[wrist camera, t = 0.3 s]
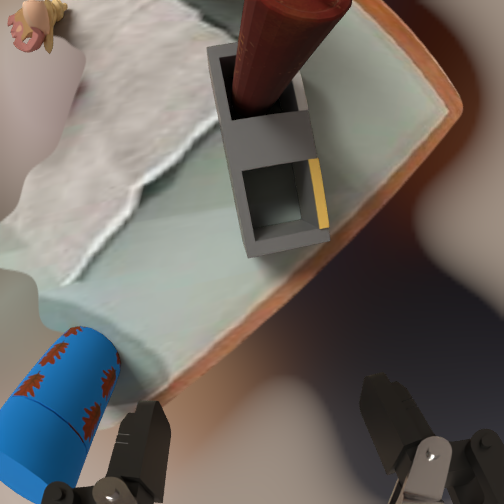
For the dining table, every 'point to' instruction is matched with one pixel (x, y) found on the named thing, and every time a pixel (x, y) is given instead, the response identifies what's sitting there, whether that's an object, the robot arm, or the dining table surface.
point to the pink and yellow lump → (36, 24)
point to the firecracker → (277, 47)
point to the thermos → (57, 413)
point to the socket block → (271, 159)
